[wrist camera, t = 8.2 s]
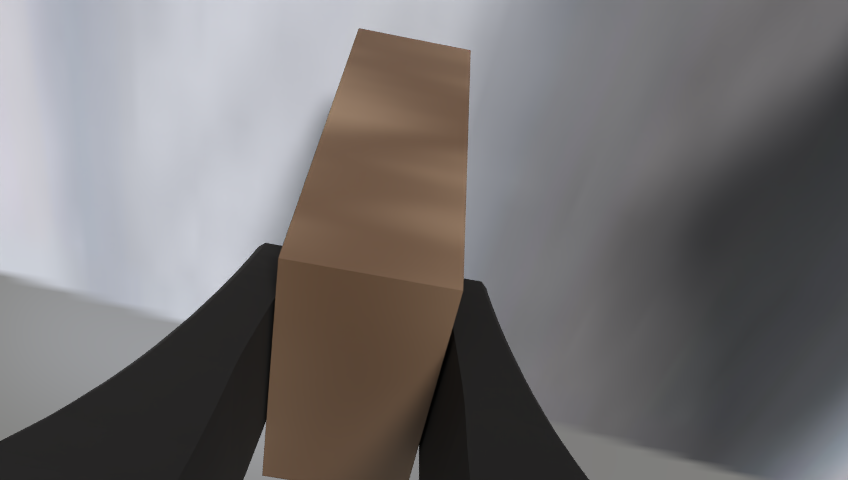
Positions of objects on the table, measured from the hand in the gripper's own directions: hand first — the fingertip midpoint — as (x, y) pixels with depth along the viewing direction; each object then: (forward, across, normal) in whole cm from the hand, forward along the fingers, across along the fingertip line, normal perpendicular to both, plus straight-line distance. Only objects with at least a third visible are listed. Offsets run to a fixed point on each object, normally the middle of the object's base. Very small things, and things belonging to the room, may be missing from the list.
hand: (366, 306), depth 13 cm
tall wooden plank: (+6, 0, 0) cm, 6 cm away
